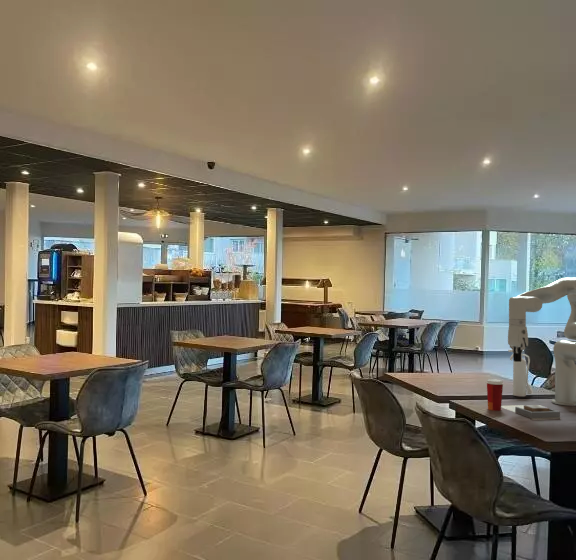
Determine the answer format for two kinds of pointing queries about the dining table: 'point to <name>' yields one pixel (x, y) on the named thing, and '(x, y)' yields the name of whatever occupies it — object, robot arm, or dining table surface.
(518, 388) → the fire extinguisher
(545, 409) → the white wood-edged tile
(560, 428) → the dining table surface
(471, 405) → the dining table surface
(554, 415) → the dock bay
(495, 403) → the paper cup
